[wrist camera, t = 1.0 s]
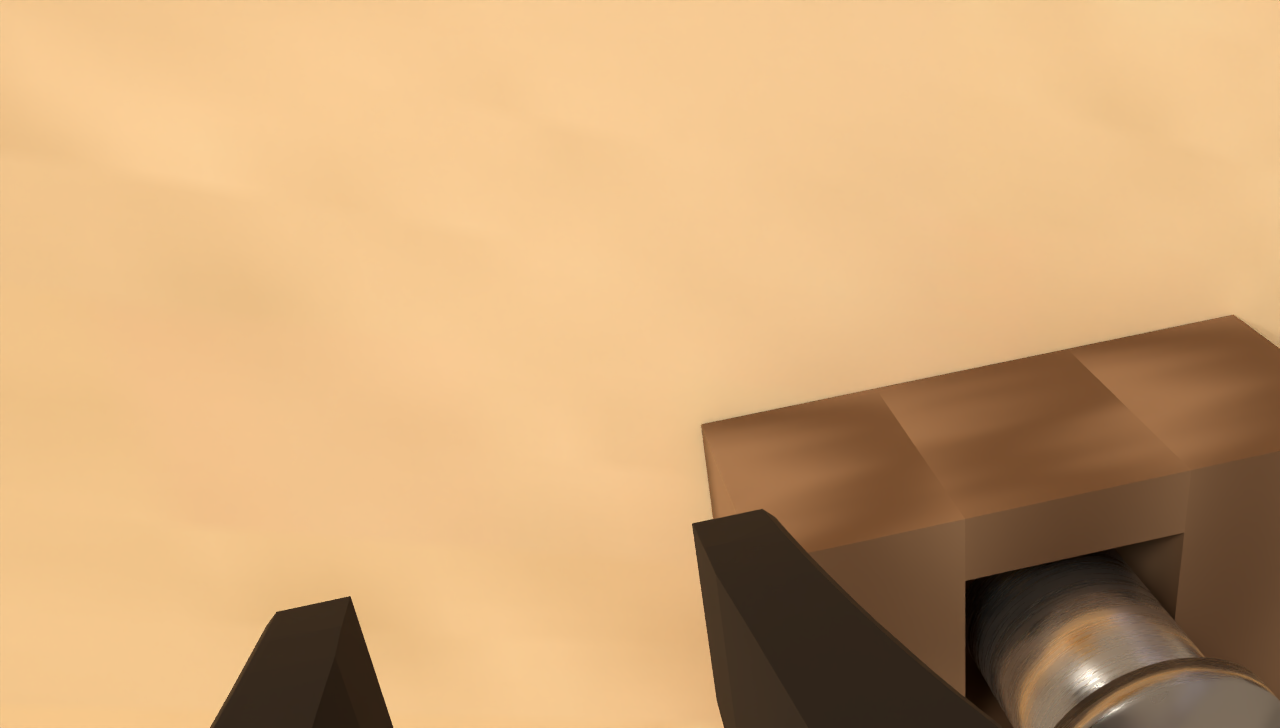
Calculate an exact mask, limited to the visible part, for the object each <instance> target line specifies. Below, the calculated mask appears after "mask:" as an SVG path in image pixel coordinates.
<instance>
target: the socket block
mask: <svg viewBox="0 0 1280 728" xmlns="http://www.w3.org/2000/svg"><path fill="white" fill-rule="evenodd" d="M701 427H702V435H703V443H704V451H705V458H706V466H707V474H708V482H709V489H710V497H711V505H712V512H713V519H716V518H721V517H726V516H730V515H735V514H740V513H744V512H749V511H754V510H759V509H764V510H765V511H767V512H768V513H770V514H771V515H773V516H774V517H776V518H777V519H778V521H779V522H780V523H781V524H782V525H783V526H784V527H785V529H786V530H787V531H788V532H789V533H790V534H791V535H792V536H793V537H794V539H795V540H796V541H797V542H798V543H799V544H800V545H801V546H802V547H803V548H804V549H805V550H806V552H807V553H808V554H809V555H810V556H811V557H812V558H813V559H814V560H815V561H816V562H817V563H818V564H819V565H820V566H821V567H822V568H823V569H824V570H825V571H826V572H827V573H828V574H829V575H830V576H831V577H832V578H833V579H834V580H835V581H836V582H837V583H838V584H839V585H840V586H841V587H842V588H843V589H844V590H845V591H846V592H847V593H848V594H849V595H850V596H851V597H852V598H853V599H854V600H855V601H856V602H857V603H858V604H859V605H860V606H861V607H862V608H864V609H865V610H866V611H867V612H868V613H869V614H870V615H871V616H872V617H873V618H874V619H875V620H876V621H877V622H878V623H880V624H881V625H882V626H883V627H884V628H885V629H886V630H887V631H889V632H890V633H891V634H892V635H893V636H894V637H895V638H896V639H898V640H899V641H900V642H901V643H902V644H903V645H904V646H905V647H907V648H908V649H909V650H910V651H911V652H912V653H913V654H914V655H916V656H917V657H918V658H919V659H920V660H921V661H922V662H923V663H925V664H926V665H927V666H928V667H929V668H930V669H931V670H933V671H934V672H935V673H936V674H937V675H939V676H940V677H941V678H942V679H943V680H945V681H946V682H947V683H948V684H949V685H951V686H952V687H953V688H954V689H955V690H957V691H958V692H959V693H960V694H961V695H963V696H964V697H965V698H966V699H968V700H969V701H970V702H971V703H973V704H974V705H975V706H977V707H978V708H979V709H980V710H982V711H983V712H984V713H985V714H987V715H988V716H989V717H991V718H992V719H993V720H994V721H996V722H997V723H998V724H999V725H1001V726H1002V727H1003V728H1013V726H1012V724H1011V723H1010V721H1009V719H1008V718H1007V716H1006V714H1005V713H1004V711H1003V709H1002V708H1001V706H1000V704H999V703H998V701H997V699H996V697H995V696H994V694H993V692H992V691H991V689H990V687H989V686H988V684H987V682H986V681H985V679H984V677H983V676H982V674H981V672H980V670H979V669H978V667H977V665H976V664H975V662H974V660H973V659H972V657H971V655H970V654H969V652H968V650H967V648H966V647H965V594H966V592H967V591H968V589H969V587H970V585H971V584H972V582H973V581H974V579H976V578H981V577H985V576H990V575H994V574H999V573H1003V572H1008V571H1012V570H1017V569H1021V568H1026V567H1031V566H1035V565H1040V564H1044V563H1049V562H1053V561H1058V560H1062V559H1067V558H1071V557H1076V556H1080V555H1085V554H1089V553H1094V552H1099V551H1103V550H1108V549H1112V548H1114V549H1115V550H1116V552H1117V553H1118V554H1119V555H1120V556H1121V557H1122V559H1123V560H1124V561H1125V562H1126V563H1127V565H1128V566H1129V567H1130V568H1131V569H1132V571H1133V572H1134V573H1135V574H1136V575H1137V577H1138V578H1139V579H1140V580H1141V581H1142V583H1143V584H1144V585H1145V586H1146V587H1147V588H1148V590H1149V591H1150V592H1151V593H1152V594H1153V596H1154V597H1155V598H1156V599H1157V600H1158V602H1159V603H1160V604H1161V605H1162V606H1163V608H1164V609H1165V610H1166V611H1167V612H1168V614H1169V615H1170V616H1171V617H1172V618H1173V620H1174V621H1175V622H1176V623H1177V624H1178V625H1179V627H1180V628H1181V629H1182V630H1183V631H1184V633H1185V634H1186V635H1187V636H1188V637H1189V639H1190V640H1191V641H1192V642H1193V643H1194V645H1195V646H1196V647H1197V648H1198V649H1199V651H1200V652H1201V653H1202V654H1203V655H1204V657H1205V658H1216V659H1222V660H1227V661H1230V662H1233V663H1236V664H1239V665H1241V666H1243V667H1245V668H1247V669H1249V670H1250V671H1252V672H1253V673H1254V674H1255V675H1257V676H1258V677H1259V678H1260V679H1261V680H1262V681H1263V682H1264V684H1265V685H1266V686H1267V687H1268V688H1269V689H1270V690H1271V692H1272V693H1273V694H1274V695H1275V696H1276V697H1277V698H1278V700H1279V701H1280V349H1279V348H1278V347H1276V346H1275V345H1274V344H1272V343H1271V342H1270V341H1268V340H1267V339H1266V338H1264V337H1263V336H1262V335H1260V334H1259V333H1257V332H1256V331H1255V330H1253V329H1252V328H1251V327H1249V326H1248V325H1247V324H1245V323H1244V322H1243V321H1241V320H1240V319H1238V318H1237V317H1236V316H1234V315H1231V316H1226V317H1221V318H1216V319H1212V320H1207V321H1202V322H1197V323H1192V324H1187V325H1182V326H1178V327H1173V328H1168V329H1163V330H1158V331H1153V332H1148V333H1144V334H1139V335H1134V336H1129V337H1124V338H1119V339H1114V340H1110V341H1105V342H1100V343H1095V344H1090V345H1085V346H1080V347H1076V348H1071V349H1066V350H1061V351H1056V352H1051V353H1046V354H1042V355H1037V356H1032V357H1027V358H1022V359H1017V360H1013V361H1008V362H1003V363H998V364H993V365H988V366H983V367H979V368H974V369H969V370H964V371H959V372H954V373H949V374H945V375H940V376H935V377H930V378H925V379H920V380H915V381H911V382H906V383H901V384H896V385H891V386H886V387H881V388H877V389H872V390H867V391H862V392H857V393H852V394H847V395H843V396H838V397H833V398H828V399H823V400H818V401H813V402H809V403H804V404H799V405H794V406H789V407H784V408H779V409H775V410H770V411H765V412H760V413H755V414H750V415H746V416H741V417H736V418H731V419H726V420H721V421H716V422H712V423H707V424H702V425H701Z"/></svg>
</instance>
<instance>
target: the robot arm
mask: <svg viewBox="0 0 1280 728" xmlns="http://www.w3.org/2000/svg"><path fill="white" fill-rule="evenodd" d="M692 527H693V534H694V541H695V548H696V555H697V562H698V569H699V576H700V584H701V591H702V598H703V605H704V612H705V619H706V626H707V634H708V641H709V648H710V655H711V662H712V669H713V676H714V683H715V691H716V698H717V703H718V706H719V710H720V714H721V718H722V721H723V725H724V728H1003V727H1002V726H1001V725H999V724H998V723H997V722H996V721H994V720H993V719H992V718H991V717H989V716H988V715H987V714H985V713H984V712H983V711H982V710H980V709H979V708H978V707H977V706H975V705H974V704H973V703H971V702H970V701H969V700H968V699H966V698H965V697H964V696H963V695H961V694H960V693H959V692H958V691H957V690H955V689H954V688H953V687H952V686H951V685H949V684H948V683H947V682H946V681H945V680H943V679H942V678H941V677H940V676H939V675H937V674H936V673H935V672H934V671H933V670H931V669H930V668H929V667H928V666H927V665H926V664H925V663H923V662H922V661H921V660H920V659H919V658H918V657H917V656H916V655H914V654H913V653H912V652H911V651H910V650H909V649H908V648H907V647H905V646H904V645H903V644H902V643H901V642H900V641H899V640H898V639H896V638H895V637H894V636H893V635H892V634H891V633H890V632H889V631H887V630H886V629H885V628H884V627H883V626H882V625H881V624H880V623H878V622H877V621H876V620H875V619H874V618H873V617H872V616H871V615H870V614H869V613H868V612H867V611H866V610H865V609H864V608H862V607H861V606H860V605H859V604H858V603H857V602H856V601H855V600H854V599H853V598H852V597H851V596H850V595H849V594H848V593H847V592H846V591H845V590H844V589H843V588H842V587H841V586H840V585H839V584H838V583H837V582H836V581H835V580H834V579H833V578H832V577H831V576H830V575H829V574H828V573H827V572H826V571H825V570H824V569H823V568H822V567H821V566H820V565H819V564H818V563H817V562H816V561H815V560H814V559H813V558H812V557H811V556H810V555H809V554H808V553H807V552H806V550H805V549H804V548H803V547H802V546H801V545H800V544H799V543H798V542H797V541H796V540H795V539H794V537H793V536H792V535H791V534H790V533H789V532H788V531H787V530H786V529H785V527H784V526H783V525H782V524H781V523H780V522H779V521H778V519H777V518H776V517H774V516H773V515H771V514H770V513H768V512H767V511H765V510H764V509H759V510H754V511H749V512H744V513H740V514H735V515H730V516H726V517H721V518H716V519H712V520H707V521H702V522H697V523H693V524H692ZM210 728H393V725H392V722H391V719H390V716H389V713H388V710H387V707H386V704H385V701H384V698H383V695H382V692H381V689H380V686H379V683H378V679H377V676H376V673H375V670H374V667H373V664H372V661H371V658H370V655H369V652H368V649H367V646H366V643H365V640H364V637H363V634H362V630H361V627H360V624H359V621H358V618H357V615H356V612H355V609H354V606H353V603H352V600H351V597H350V596H349V597H345V598H340V599H335V600H331V601H326V602H321V603H316V604H312V605H307V606H302V607H298V608H293V609H288V610H284V611H279V612H276V614H275V615H274V616H273V618H272V619H271V620H270V622H269V623H268V625H267V626H266V628H265V630H264V631H263V633H262V635H261V637H260V639H259V641H258V642H257V644H256V646H255V648H254V650H253V651H252V653H251V655H250V657H249V659H248V661H247V662H246V664H245V666H244V668H243V670H242V672H241V673H240V675H239V677H238V679H237V681H236V683H235V684H234V686H233V688H232V690H231V692H230V693H229V695H228V697H227V699H226V701H225V702H224V704H223V706H222V708H221V709H220V711H219V713H218V715H217V716H216V718H215V720H214V722H213V723H212V725H211V727H210Z"/></svg>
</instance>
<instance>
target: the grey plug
mask: <svg viewBox="0 0 1280 728" xmlns="http://www.w3.org/2000/svg"><path fill="white" fill-rule="evenodd" d="M965 647H966V648H967V650H968V652H969V654H970V655H971V657H972V659H973V660H974V662H975V664H976V665H977V667H978V669H979V670H980V672H981V674H982V676H983V677H984V679H985V681H986V682H987V684H988V686H989V687H990V689H991V691H992V692H993V694H994V696H995V697H996V699H997V701H998V703H999V704H1000V706H1001V708H1002V709H1003V711H1004V713H1005V714H1006V716H1007V718H1008V719H1009V721H1010V723H1011V724H1012V726H1013V728H1280V701H1279V700H1278V698H1277V697H1276V696H1275V695H1274V694H1273V693H1272V692H1271V690H1270V689H1269V688H1268V687H1267V686H1266V685H1265V684H1264V682H1263V681H1262V680H1261V679H1260V678H1259V677H1258V676H1257V675H1255V674H1254V673H1253V672H1252V671H1250V670H1249V669H1247V668H1245V667H1243V666H1241V665H1239V664H1236V663H1233V662H1230V661H1227V660H1222V659H1216V658H1205V657H1204V655H1203V654H1202V653H1201V652H1200V651H1199V649H1198V648H1197V647H1196V646H1195V645H1194V643H1193V642H1192V641H1191V640H1190V639H1189V637H1188V636H1187V635H1186V634H1185V633H1184V631H1183V630H1182V629H1181V628H1180V627H1179V625H1178V624H1177V623H1176V622H1175V621H1174V620H1173V618H1172V617H1171V616H1170V615H1169V614H1168V612H1167V611H1166V610H1165V609H1164V608H1163V606H1162V605H1161V604H1160V603H1159V602H1158V600H1157V599H1156V598H1155V597H1154V596H1153V594H1152V593H1151V592H1150V591H1149V590H1148V588H1147V587H1146V586H1145V585H1144V584H1143V583H1142V581H1141V580H1140V579H1139V578H1138V577H1137V575H1136V574H1135V573H1134V572H1133V571H1132V569H1131V568H1130V567H1129V566H1128V565H1127V563H1126V562H1125V561H1124V560H1123V559H1122V557H1121V556H1120V555H1119V554H1118V553H1117V552H1116V550H1115V549H1114V548H1112V549H1108V550H1103V551H1099V552H1094V553H1089V554H1085V555H1080V556H1076V557H1071V558H1067V559H1062V560H1058V561H1053V562H1049V563H1044V564H1040V565H1035V566H1031V567H1026V568H1021V569H1017V570H1012V571H1008V572H1003V573H999V574H994V575H990V576H985V577H981V578H976V579H974V581H973V582H972V584H971V585H970V587H969V589H968V591H967V592H966V594H965Z"/></svg>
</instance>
